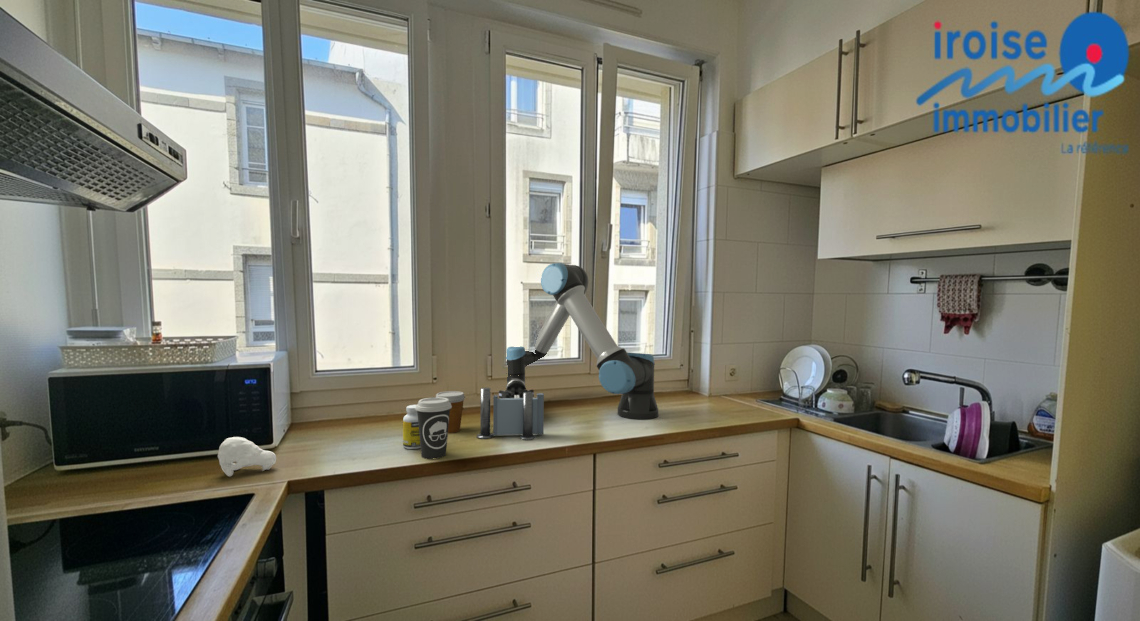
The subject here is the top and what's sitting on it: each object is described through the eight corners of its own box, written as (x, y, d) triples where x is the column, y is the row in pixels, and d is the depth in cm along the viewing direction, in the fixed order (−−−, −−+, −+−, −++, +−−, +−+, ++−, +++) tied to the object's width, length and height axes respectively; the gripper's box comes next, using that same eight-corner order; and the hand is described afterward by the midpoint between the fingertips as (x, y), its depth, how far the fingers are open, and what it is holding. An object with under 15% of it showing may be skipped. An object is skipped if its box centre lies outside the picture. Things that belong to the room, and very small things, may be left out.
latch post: (536, 435, 146) (536, 391, 146) (534, 440, 142) (534, 394, 141) (521, 435, 147) (521, 391, 146) (518, 440, 142) (518, 394, 142)
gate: (493, 435, 144) (493, 395, 144) (493, 433, 147) (493, 393, 146) (543, 434, 146) (543, 394, 146) (543, 432, 148) (543, 393, 148)
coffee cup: (456, 449, 132) (456, 397, 132) (444, 461, 123) (444, 404, 122) (424, 448, 133) (424, 396, 133) (409, 460, 124) (409, 403, 123)
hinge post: (495, 434, 148) (495, 387, 147) (491, 439, 143) (491, 390, 142) (479, 434, 148) (479, 386, 148) (474, 438, 143) (475, 389, 142)
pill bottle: (404, 451, 131) (404, 409, 131) (401, 444, 137) (401, 405, 136) (428, 447, 134) (428, 407, 134) (424, 441, 140) (424, 403, 139)
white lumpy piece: (226, 434, 116) (281, 434, 120) (223, 468, 116) (278, 468, 120) (216, 441, 110) (274, 442, 114) (212, 477, 110) (270, 477, 114)
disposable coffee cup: (470, 430, 152) (470, 393, 152) (445, 436, 145) (445, 397, 145) (454, 424, 159) (454, 389, 158) (429, 430, 152) (429, 393, 151)
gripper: (533, 399, 180) (537, 413, 156) (498, 400, 178) (496, 414, 155) (533, 379, 180) (536, 390, 156) (498, 380, 178) (496, 392, 155)
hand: (517, 402), depth 156 cm, fingers closed
